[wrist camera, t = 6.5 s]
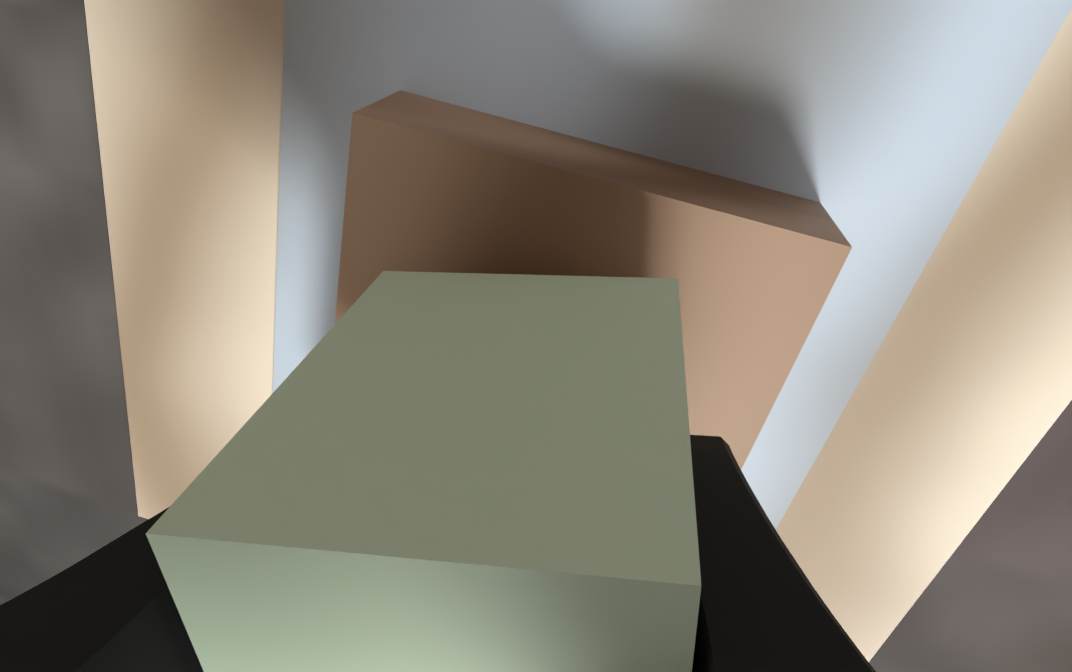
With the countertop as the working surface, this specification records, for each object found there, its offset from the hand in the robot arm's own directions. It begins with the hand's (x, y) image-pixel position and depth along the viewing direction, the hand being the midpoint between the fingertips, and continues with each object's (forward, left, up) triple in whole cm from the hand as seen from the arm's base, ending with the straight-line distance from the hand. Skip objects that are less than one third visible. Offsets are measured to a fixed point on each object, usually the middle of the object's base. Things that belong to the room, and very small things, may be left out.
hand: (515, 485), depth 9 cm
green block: (0, 0, -2) cm, 2 cm away
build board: (0, 0, -5) cm, 5 cm away
